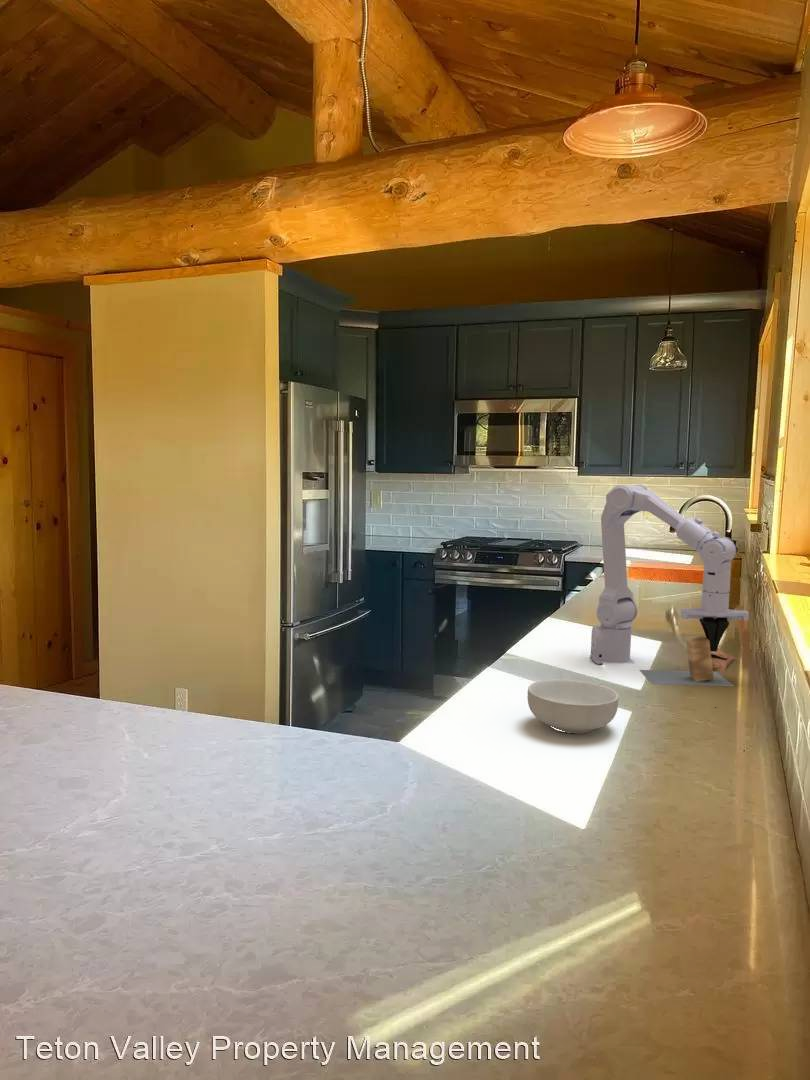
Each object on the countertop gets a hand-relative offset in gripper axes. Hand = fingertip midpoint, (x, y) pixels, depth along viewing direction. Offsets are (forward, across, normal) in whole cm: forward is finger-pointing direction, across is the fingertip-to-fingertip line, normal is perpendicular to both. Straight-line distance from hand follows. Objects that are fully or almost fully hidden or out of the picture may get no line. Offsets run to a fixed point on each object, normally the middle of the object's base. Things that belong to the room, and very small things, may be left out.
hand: (712, 650), depth 182 cm
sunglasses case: (+8, +6, +16) cm, 19 cm away
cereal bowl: (+8, -37, -34) cm, 51 cm away
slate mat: (+7, -6, +1) cm, 9 cm away
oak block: (+6, -2, 0) cm, 7 cm away
